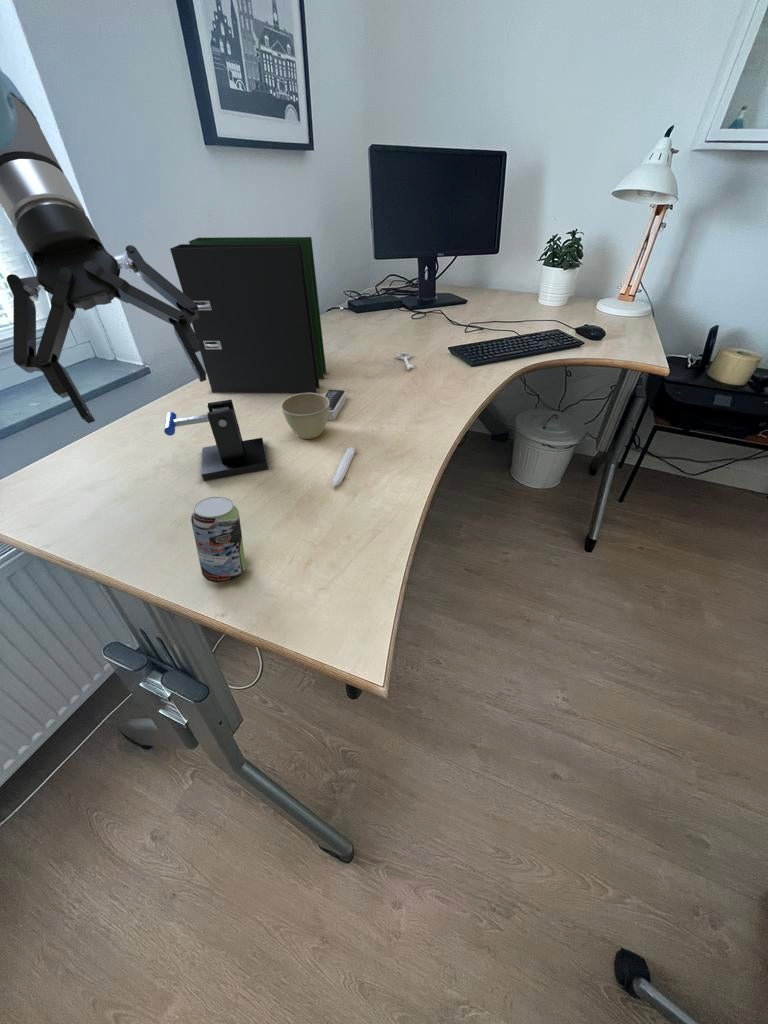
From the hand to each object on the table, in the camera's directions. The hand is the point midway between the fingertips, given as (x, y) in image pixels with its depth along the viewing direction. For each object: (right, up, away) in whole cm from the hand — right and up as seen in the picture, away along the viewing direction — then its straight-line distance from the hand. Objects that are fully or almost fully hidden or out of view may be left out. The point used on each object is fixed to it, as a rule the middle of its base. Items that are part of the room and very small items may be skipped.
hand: (148, 398), depth 52 cm
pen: (+21, -6, +32) cm, 38 cm away
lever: (-6, +2, +28) cm, 29 cm away
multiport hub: (+16, +11, +51) cm, 55 cm away
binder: (-2, +21, +64) cm, 67 cm away
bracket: (-1, -3, +35) cm, 35 cm away
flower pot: (+12, +3, +42) cm, 44 cm away
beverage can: (+5, -22, +12) cm, 26 cm away
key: (+34, +29, +72) cm, 85 cm away
